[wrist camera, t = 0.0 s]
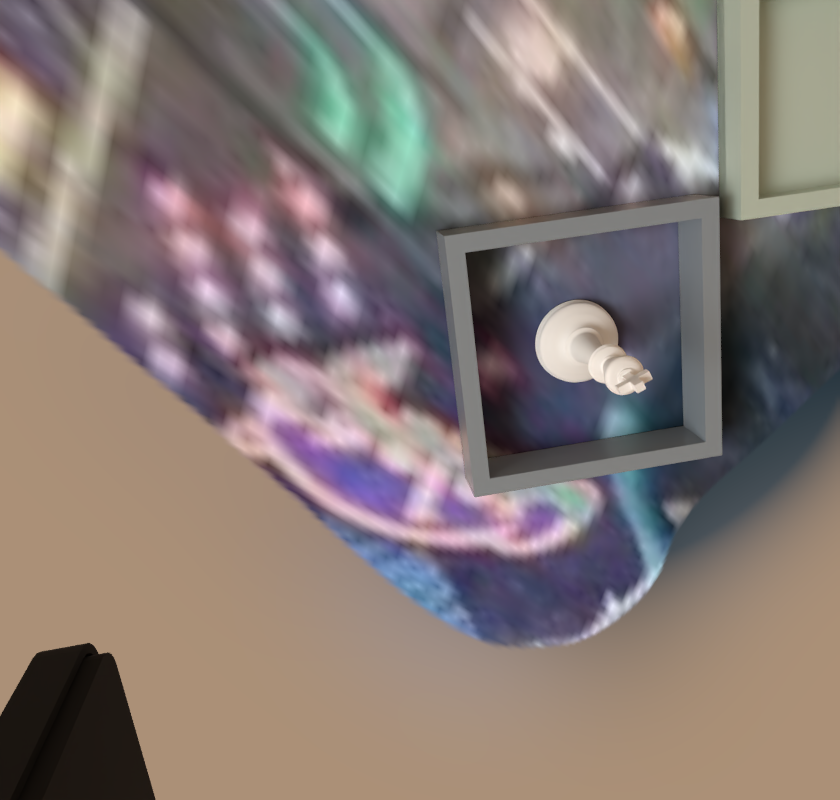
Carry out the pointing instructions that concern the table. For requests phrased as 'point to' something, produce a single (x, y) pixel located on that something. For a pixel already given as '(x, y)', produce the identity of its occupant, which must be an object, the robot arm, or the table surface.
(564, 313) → the chess piece
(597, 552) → the table surface
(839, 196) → the tray
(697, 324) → the shallow grey bin
